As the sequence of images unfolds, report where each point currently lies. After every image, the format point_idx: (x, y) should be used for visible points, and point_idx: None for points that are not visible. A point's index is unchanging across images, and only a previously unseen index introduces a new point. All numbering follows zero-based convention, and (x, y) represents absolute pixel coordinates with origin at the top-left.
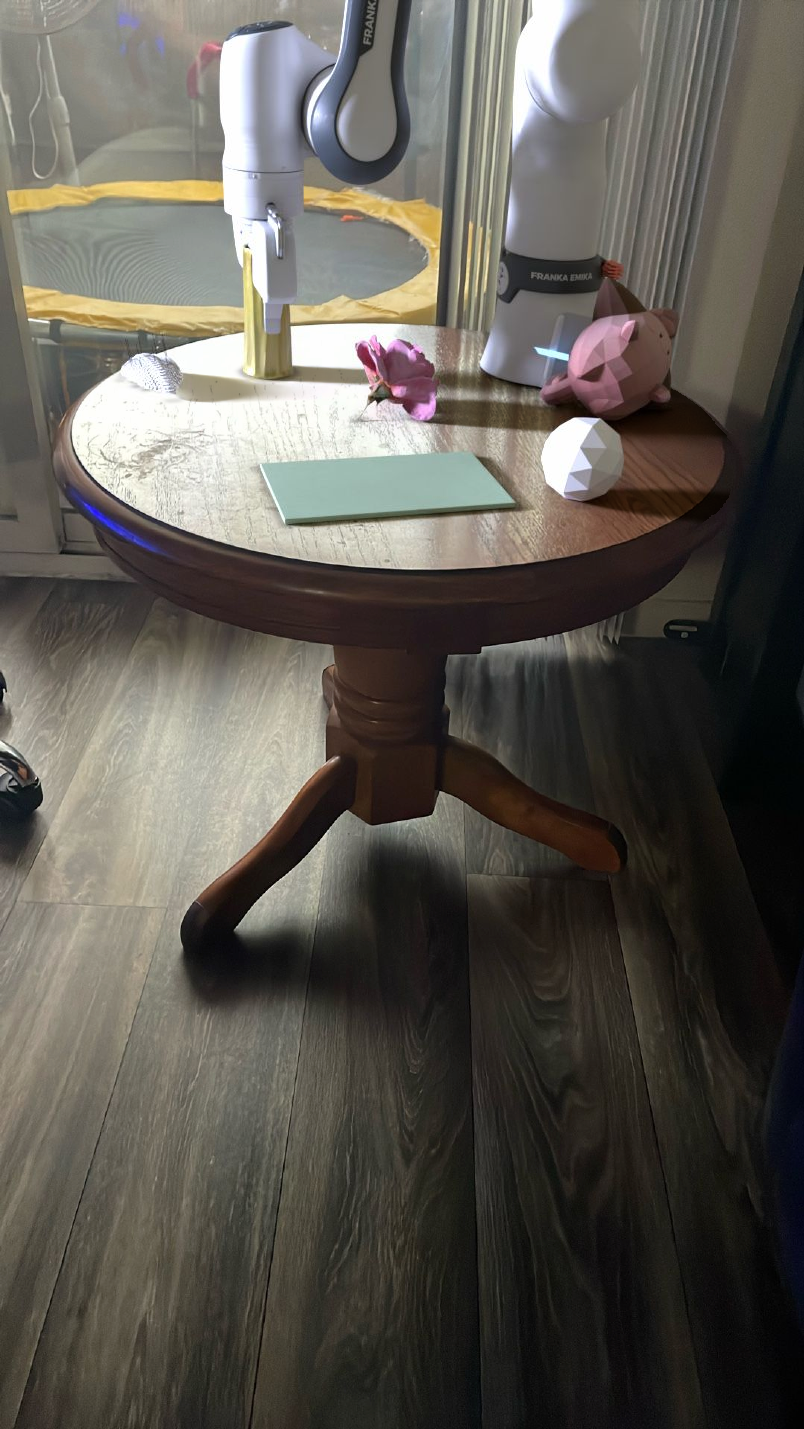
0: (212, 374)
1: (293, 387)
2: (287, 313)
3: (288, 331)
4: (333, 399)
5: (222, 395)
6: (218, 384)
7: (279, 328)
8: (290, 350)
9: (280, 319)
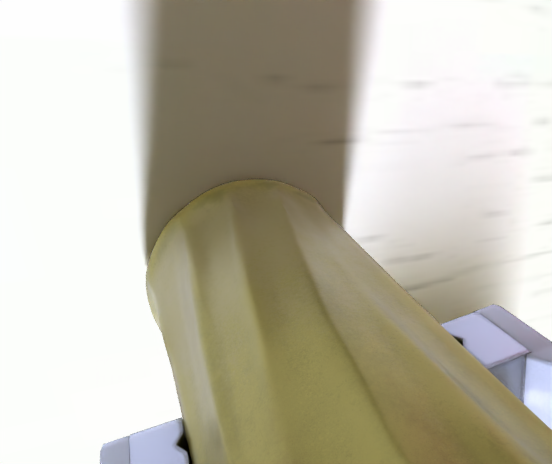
0: None
1: (412, 164)
2: (407, 324)
3: (342, 266)
4: (543, 9)
5: None
6: None
7: (508, 316)
8: (296, 219)
9: (544, 338)
